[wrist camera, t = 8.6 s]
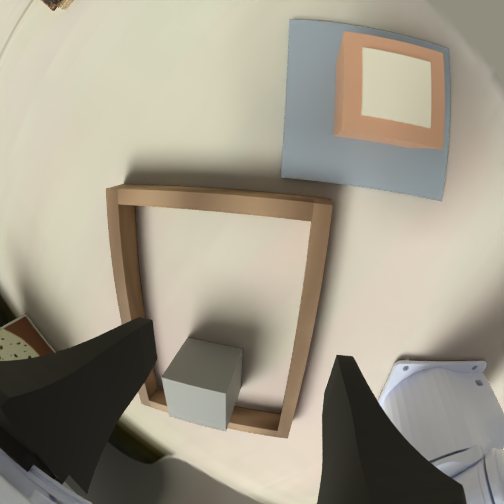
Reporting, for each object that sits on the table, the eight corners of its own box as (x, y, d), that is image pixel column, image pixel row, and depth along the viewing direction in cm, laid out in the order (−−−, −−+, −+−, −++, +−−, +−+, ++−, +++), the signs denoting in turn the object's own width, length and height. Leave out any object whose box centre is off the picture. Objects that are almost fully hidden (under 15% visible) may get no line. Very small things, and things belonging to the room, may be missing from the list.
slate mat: (446, 50, 12) (448, 48, 11) (439, 200, 15) (441, 201, 15) (290, 21, 14) (289, 19, 13) (281, 176, 17) (280, 177, 17)
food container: (12, 324, 30) (-34, 360, 21) (19, 304, 28) (-36, 343, 18) (69, 391, 31) (29, 437, 22) (82, 380, 29) (36, 432, 20)
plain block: (243, 348, 22) (225, 393, 17) (241, 387, 23) (225, 431, 19) (188, 336, 23) (161, 377, 18) (191, 376, 24) (169, 416, 20)
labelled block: (410, 75, 13) (444, 52, 8) (408, 148, 14) (444, 149, 10) (336, 62, 14) (344, 29, 9) (333, 136, 15) (342, 130, 10)
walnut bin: (330, 199, 17) (332, 205, 15) (290, 422, 24) (287, 438, 22) (122, 184, 19) (105, 188, 17) (150, 390, 26) (141, 403, 24)
